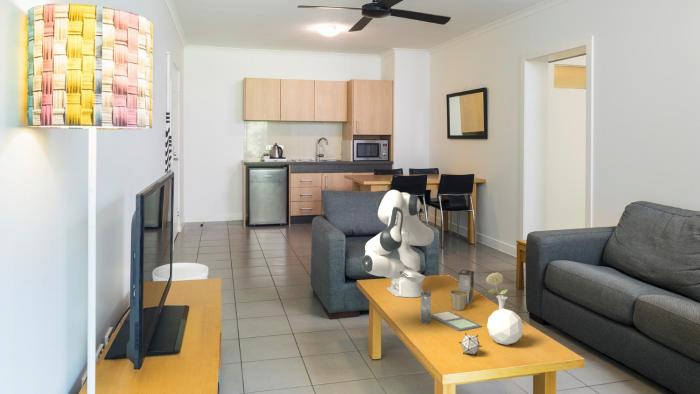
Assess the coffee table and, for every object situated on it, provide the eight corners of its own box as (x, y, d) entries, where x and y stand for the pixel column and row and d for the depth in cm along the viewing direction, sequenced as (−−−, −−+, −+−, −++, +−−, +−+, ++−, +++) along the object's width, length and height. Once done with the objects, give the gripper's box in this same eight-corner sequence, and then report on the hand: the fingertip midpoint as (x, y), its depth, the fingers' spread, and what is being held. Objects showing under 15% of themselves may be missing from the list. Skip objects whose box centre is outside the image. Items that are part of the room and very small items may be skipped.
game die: (465, 361, 206) (454, 338, 210) (484, 354, 206) (473, 330, 210) (467, 359, 198) (456, 334, 202) (487, 351, 198) (475, 327, 202)
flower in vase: (514, 323, 241) (516, 271, 239) (513, 331, 230) (515, 277, 228) (485, 320, 245) (487, 268, 243) (483, 327, 235) (485, 274, 232)
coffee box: (461, 298, 281) (462, 269, 280) (473, 299, 278) (474, 270, 277) (457, 302, 273) (458, 272, 271) (469, 304, 270) (470, 274, 268)
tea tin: (418, 321, 243) (418, 292, 242) (426, 319, 245) (427, 291, 244) (424, 324, 239) (424, 294, 237) (432, 322, 241) (433, 293, 240)
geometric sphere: (494, 354, 217) (474, 323, 221) (518, 336, 224) (498, 306, 227) (512, 349, 205) (490, 316, 208) (537, 330, 211) (515, 298, 215)
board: (427, 315, 251) (428, 314, 251) (449, 312, 257) (449, 310, 257) (459, 331, 230) (459, 329, 230) (481, 327, 236) (481, 325, 236)
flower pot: (468, 312, 257) (468, 295, 256) (449, 311, 258) (449, 294, 258) (467, 306, 266) (468, 290, 265) (449, 305, 268) (449, 289, 267)
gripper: (411, 270, 217) (434, 275, 225) (384, 254, 234) (406, 259, 242) (406, 284, 217) (429, 288, 225) (379, 267, 234) (402, 272, 242)
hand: (417, 273), depth 233 cm, fingers open, 8 cm apart
